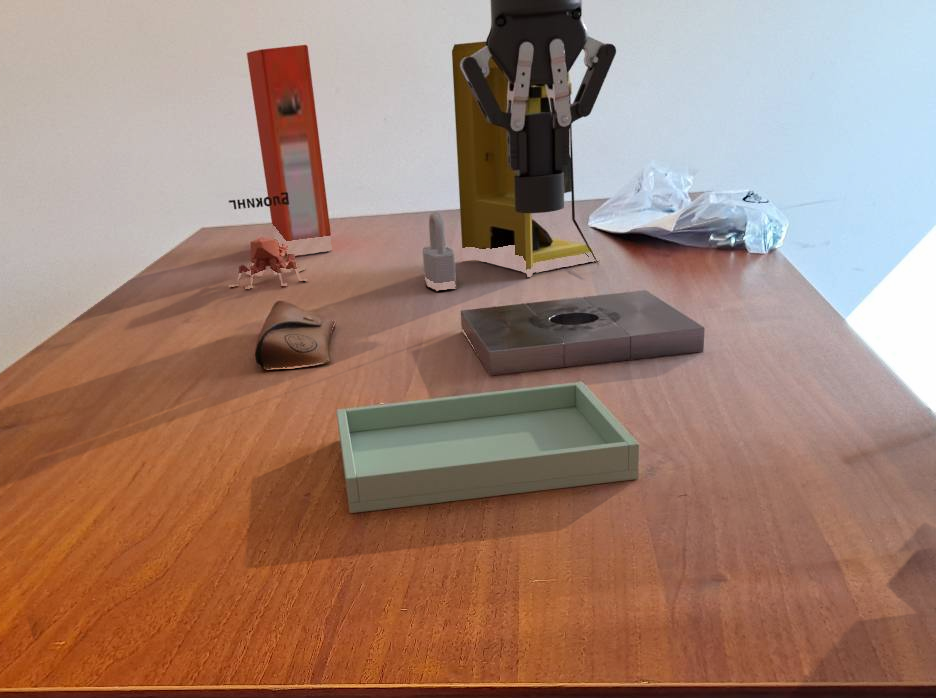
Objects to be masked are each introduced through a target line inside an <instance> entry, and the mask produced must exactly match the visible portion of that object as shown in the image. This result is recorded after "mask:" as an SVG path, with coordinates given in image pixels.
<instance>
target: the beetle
mask: <svg viewBox="0 0 936 698" xmlns="http://www.w3.org/2000/svg"><path fill="white" fill-rule="evenodd" d="M281 195H286V197H283V198H282V200H281V202H282V203H283V204H284V205H289V199H288V192H284V193H281ZM275 198H277V201H278V204H280V205H282V203H281V202H280V199H279V196H274V197H273V202H274V206H276V200H275ZM267 200H268V202H267ZM284 200H286V202H284ZM236 201H237V202H236ZM255 201H256V202H257V203H256V204H255ZM228 203H229V204H231V203H233V209H234V210H237V207H238V210H240V209H241V210H242V207H243V209H246V208H247V209H251V207H252V208H253V209H255V208H259V207H261V208H262V207H264V206H265V207H269V206H271V205H272V200H271V198H270V197H268V196H265V197H264V198H262V197H259V198H258V197H255V198H254V197H253V198H251V200H250V198H246V199H245V198H242V202H241V199H230V200H228ZM236 203H237V204H236ZM246 205H247V206H246ZM269 208H270V207H269ZM282 246H283V247H280V246H279V243H278V240H276V239H274V238H269V237H264V236H261V237H259V238H256V239H254V240H252V241H250V263H251V262H252V263H254V265H253V266H251V265H250V267H247V266H246V265H245V264H239V265H238V272H237V274H238V273H242V274H243V273H245V272H247V271H250V270H251V275H253V274H255V273H258V272H260V271H263V270H265V269H266V270H267V267H270V270H271V269H272V270H273V271H275V272H277V273H281V274H282V270H281V269H280V268H286V269H291V268H292V270H293V269H297V267H296V263H297V261H296V262H295V261H294V260H296V257H294V254H288V255H287V257H286V259H284V257H285V255H286V252H287V250H288V249H287V248H288V246H285V244H282ZM292 260H293V261H292ZM285 261H286V262H289V263H288V265H287V266H286V264H285V263H286V262H285ZM272 270H271V271H272Z"/></svg>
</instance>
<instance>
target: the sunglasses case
mask: <svg viewBox="0 0 936 698" xmlns="http://www.w3.org/2000/svg"><path fill="white" fill-rule="evenodd" d="M335 321H336V319H333V318H332V317H329V316H328V315H327V316H326V315H322V314H319V313H315V312H311V311H307V310H305V309H304V308H302V307H300V306H298V305H296V304H294V303H291V302H288V301H286V300H277V301H276V302H275V303H274V304H273V305H272V307H271V310H270V312H269V313H268V315H267V317H266V319H265V321H264V323H263V325H262V327H261V330H260V333H259V335H258V338H257V340H256V341H257V342H256V345H255V350H254V360H255V362H256V364H257V365H258V366H259V367H260V368H261V369H262V370H264V369H271V368H283V367H285V368H287V367H294V366H302V365H311V364H312V365H313V364H317V363H326V364H328V363H330V362H331V356H330V355H331V354H330V346H329V345H330V341H331V337H330V335H331V336H332V334H331V331H332V328H333V325H334V323H335ZM332 332H333V331H332Z"/></svg>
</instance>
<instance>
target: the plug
mask: <svg viewBox="0 0 936 698" xmlns="http://www.w3.org/2000/svg"><path fill="white" fill-rule="evenodd" d="M523 131H526V136H527V176H523V177H518V176H516V175H515V176H514V187H515V211H516V212H519V213H532V214H541V213H542V214H544V213H549V212H550V213H551V212H552V213H553V212H557V211H561V210H563V209H565V193H564V172H562V173H553V113H552V112H539V113H530V114H525V122H524V127H523Z"/></svg>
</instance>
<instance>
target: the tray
mask: <svg viewBox="0 0 936 698" xmlns="http://www.w3.org/2000/svg"><path fill="white" fill-rule="evenodd" d="M336 419H337V427H338V428H337V429H338V437H339V444H340V450H341V451H340V452H341V458H342V459H341V460H342V466H343V474H344V483H345V489H346V496H347V497H346V498H347V503H348V512H349V514H357V513H365V512H374V511H380V510H389V509H390V510H391V509H397V508H398V509H399V508H406V507H415V506H422V505H432V504H439V503H440V504H441V503H448V502H449V503H450V502H455V501H465V500H472V499H473V500H475V499H482V498H491V497H497V496H498V497H499V496H507V495H514V494H515V495H516V494H522V493H530V492H531V493H532V492H540V491H541V492H542V491H549V490H557V489H564V488H565V489H566V488H574V487H582V486H590V485H591V486H592V485H599V484H607V483H608V484H609V483H613V482H614V483H615V482H616V483H617V482H623V481H631V480H638V479H639V468H640V467H639V466H640V465H639V464H640V463H639V462H640V460H639V459H640V443H639V442H638V441H637V440H636V439H635V438H634V437H633V436H632V435H631V434H630V432H629V431H628V430H627V429H626V428H625V427H624V426H623V424H622V423H620V422H619V420H618V419H617V418H616V417H615V416H614V414H612V413H611V412H610V411H609V409H608V408H607V407H606V405H604V404H603V403H602V402H601V401H600V400H599V399H598V397H596V395H595V394H594V393H593V392H592V391H591V390H590V389H589V387H588V386H587V385H586V384H585V383H584V382H583V381H574V382H566V383H559V384H550V385H542V386H541V385H540V386H531V387H524V388H523V387H522V388H514V389H506V390H505V389H504V390H499V391H497V390H496V391H488V392H487V391H486V392H479V393H470V394H469V393H468V394H461V395H453V396H443V397H435V398H426V399H418V400H410V401H402V402H392V403H384V404H375V405H374V404H373V405H366V406H364V405H363V406H356V407H348V408H340V409H336Z"/></svg>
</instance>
